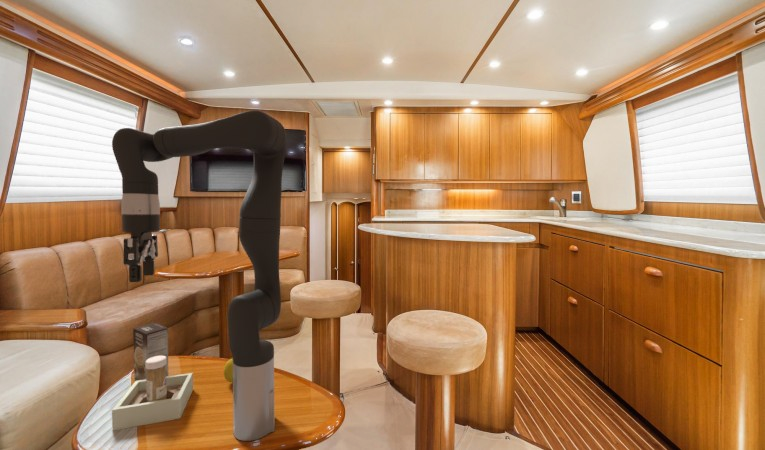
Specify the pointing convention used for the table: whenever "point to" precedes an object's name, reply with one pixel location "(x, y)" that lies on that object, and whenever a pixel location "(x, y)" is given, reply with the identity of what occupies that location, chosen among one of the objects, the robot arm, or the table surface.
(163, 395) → the sprinkles bottle
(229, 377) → the lemon
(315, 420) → the table surface
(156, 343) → the coffee box
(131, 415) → the peg box
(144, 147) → the robot arm
